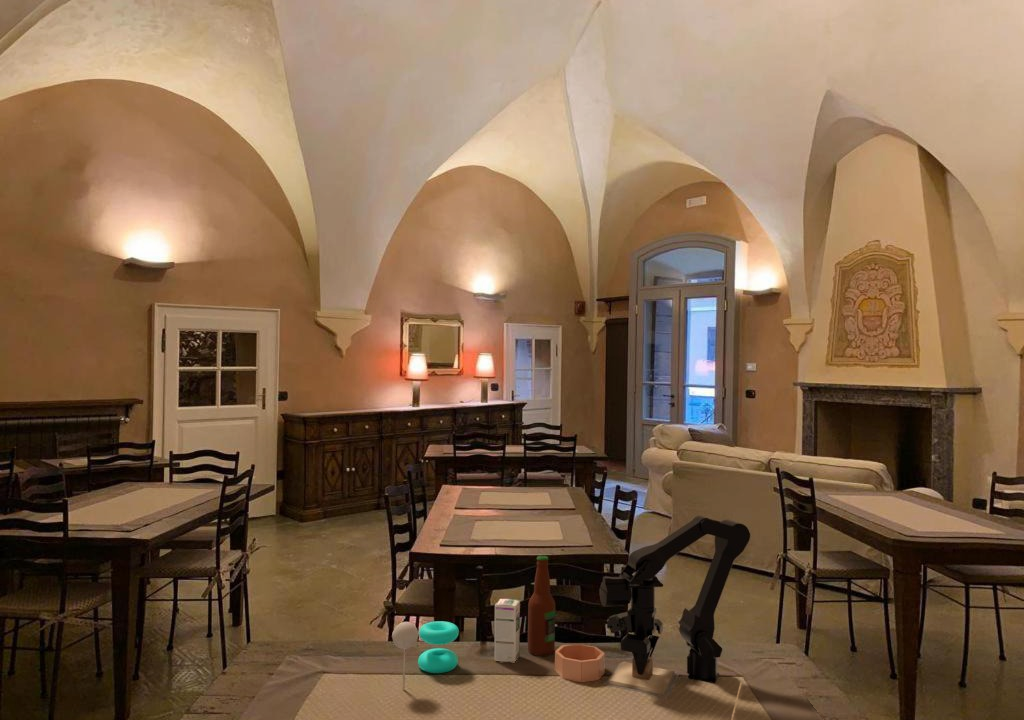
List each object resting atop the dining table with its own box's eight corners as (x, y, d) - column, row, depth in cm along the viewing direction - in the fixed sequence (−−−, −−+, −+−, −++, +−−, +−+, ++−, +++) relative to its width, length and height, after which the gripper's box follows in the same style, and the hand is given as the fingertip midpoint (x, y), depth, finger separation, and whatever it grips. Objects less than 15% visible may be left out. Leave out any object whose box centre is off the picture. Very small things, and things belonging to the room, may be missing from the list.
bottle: (555, 657, 167) (556, 560, 169) (527, 656, 167) (529, 559, 169) (553, 646, 174) (555, 554, 176) (527, 646, 174) (529, 553, 176)
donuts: (466, 624, 161) (441, 635, 152) (465, 665, 160) (439, 678, 152) (437, 617, 166) (410, 627, 158) (436, 656, 165) (409, 668, 157)
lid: (674, 674, 156) (674, 654, 156) (664, 694, 144) (664, 673, 145) (623, 664, 161) (623, 645, 162) (608, 683, 150) (608, 662, 150)
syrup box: (515, 664, 161) (516, 605, 163) (493, 661, 163) (494, 603, 164) (519, 655, 167) (520, 599, 168) (498, 653, 168) (499, 597, 169)
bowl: (608, 669, 159) (608, 648, 160) (594, 686, 149) (594, 664, 149) (565, 661, 164) (566, 641, 164) (549, 677, 154) (550, 655, 154)
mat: (679, 675, 156) (679, 673, 156) (667, 699, 143) (667, 697, 143) (620, 664, 163) (620, 662, 163) (603, 686, 149) (603, 684, 149)
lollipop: (421, 686, 147) (423, 620, 148) (409, 697, 141) (411, 628, 143) (397, 682, 149) (400, 616, 150) (385, 692, 143) (387, 624, 145)
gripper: (620, 591, 166) (620, 652, 165) (599, 610, 149) (599, 678, 148) (663, 597, 161) (663, 660, 160) (646, 617, 145) (646, 688, 143)
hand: (642, 671), depth 153 cm, fingers closed on lid, 4 cm apart
